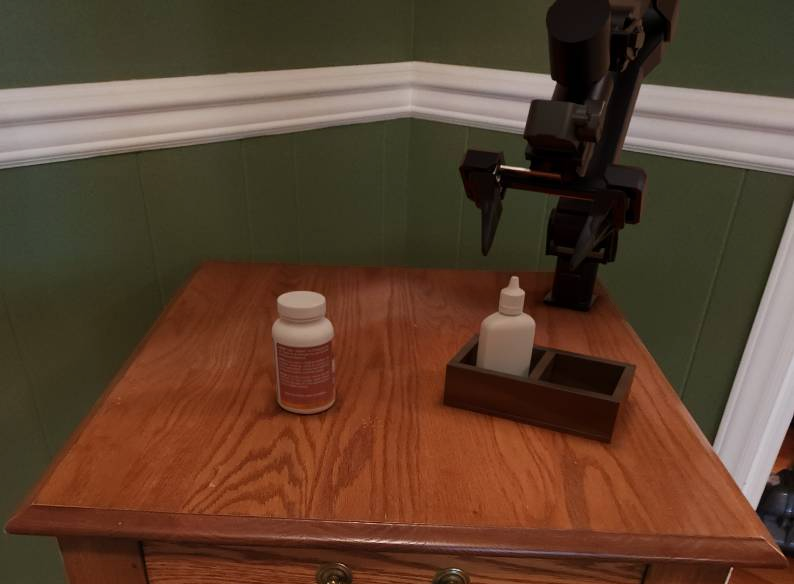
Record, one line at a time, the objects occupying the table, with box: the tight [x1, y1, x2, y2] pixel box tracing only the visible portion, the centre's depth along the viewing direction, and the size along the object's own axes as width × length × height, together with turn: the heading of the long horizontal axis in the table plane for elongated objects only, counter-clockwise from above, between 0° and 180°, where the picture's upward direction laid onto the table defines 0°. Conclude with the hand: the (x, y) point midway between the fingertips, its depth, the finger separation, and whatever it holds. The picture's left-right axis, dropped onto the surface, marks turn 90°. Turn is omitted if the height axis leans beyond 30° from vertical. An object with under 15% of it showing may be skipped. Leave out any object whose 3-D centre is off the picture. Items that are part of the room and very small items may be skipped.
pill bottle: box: [271, 290, 336, 415], centre depth 74 cm, size 6×6×11 cm
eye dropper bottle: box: [476, 275, 536, 378], centre depth 75 cm, size 4×6×12 cm
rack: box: [442, 332, 637, 444], centre depth 77 cm, size 9×18×5 cm, turn 66°
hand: (526, 261), depth 74 cm, fingers open, 9 cm apart
